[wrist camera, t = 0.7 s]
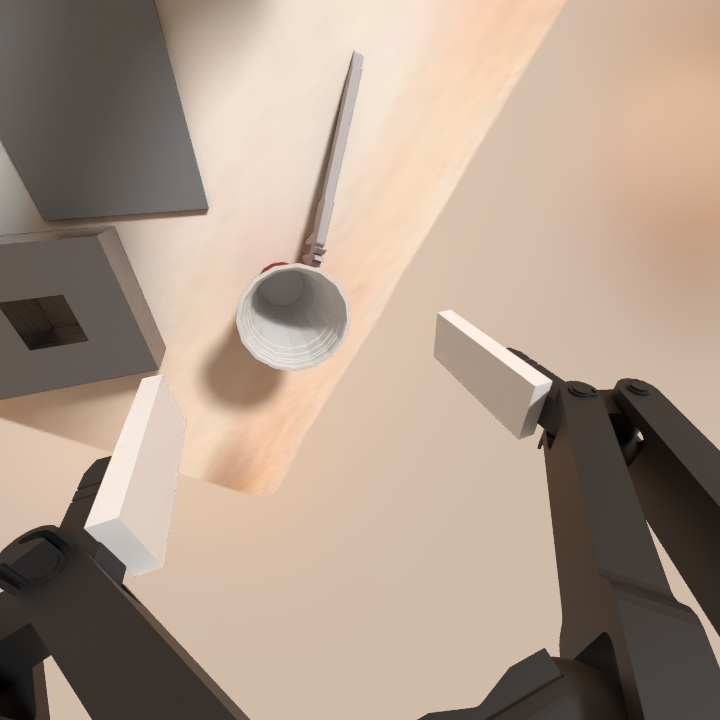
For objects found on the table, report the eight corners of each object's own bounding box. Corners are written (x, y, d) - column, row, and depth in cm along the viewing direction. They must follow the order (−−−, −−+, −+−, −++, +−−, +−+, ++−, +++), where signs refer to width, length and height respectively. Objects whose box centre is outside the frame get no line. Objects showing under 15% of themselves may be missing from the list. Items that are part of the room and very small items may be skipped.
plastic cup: (307, 225, 37) (334, 248, 27) (333, 306, 43) (362, 347, 34) (216, 255, 35) (212, 291, 26) (257, 335, 42) (265, 386, 32)
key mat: (-93, -46, 20) (-101, -51, 20) (147, -22, 24) (146, -25, 24) (47, 219, 29) (44, 220, 29) (208, 208, 33) (208, 208, 32)
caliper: (309, 260, 39) (321, 275, 34) (300, 258, 39) (311, 272, 34) (362, 57, 31) (387, 37, 26) (352, 50, 31) (376, 29, 26)
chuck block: (-71, 241, 27) (-122, 254, 23) (114, 226, 31) (97, 235, 27) (27, 372, 35) (1, 399, 31) (166, 348, 39) (158, 369, 35)
